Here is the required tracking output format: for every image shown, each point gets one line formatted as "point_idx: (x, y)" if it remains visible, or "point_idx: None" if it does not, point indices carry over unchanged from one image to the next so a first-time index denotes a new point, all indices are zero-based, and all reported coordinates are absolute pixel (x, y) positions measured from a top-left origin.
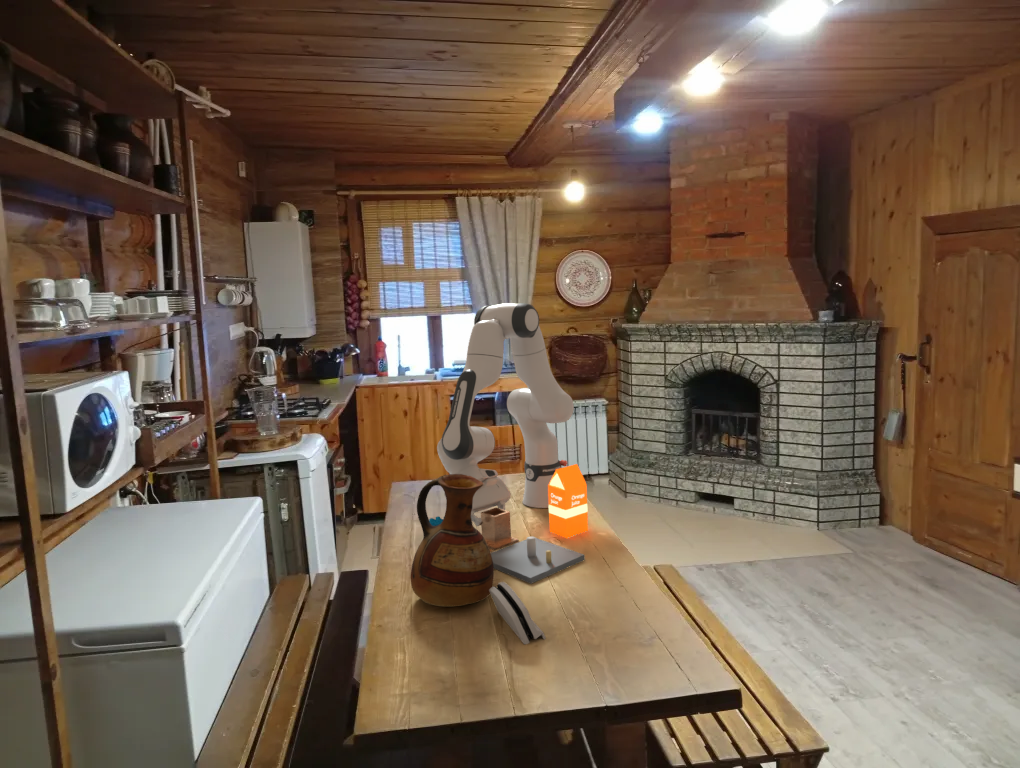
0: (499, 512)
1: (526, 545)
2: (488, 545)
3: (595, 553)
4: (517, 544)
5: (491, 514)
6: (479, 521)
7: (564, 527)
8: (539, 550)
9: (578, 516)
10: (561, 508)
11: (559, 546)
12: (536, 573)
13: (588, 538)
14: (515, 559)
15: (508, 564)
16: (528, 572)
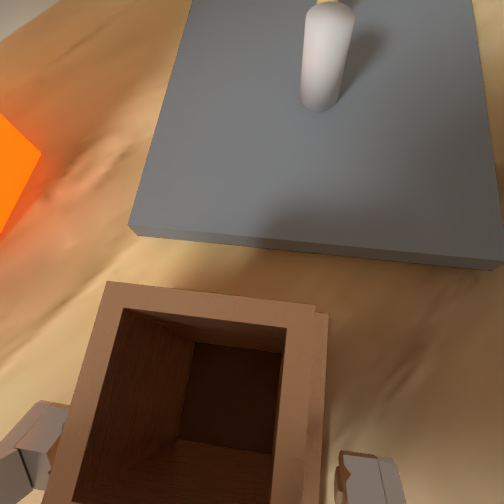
0: (107, 425)
1: (237, 180)
2: (324, 373)
3: (133, 17)
4: (252, 219)
5: (164, 497)
6: (382, 472)
7: (2, 129)
8: (252, 108)
9: None
10: None
11: (172, 79)
12: (428, 2)
13: (13, 96)
14: (394, 119)
15: (452, 109)
16: (444, 21)
